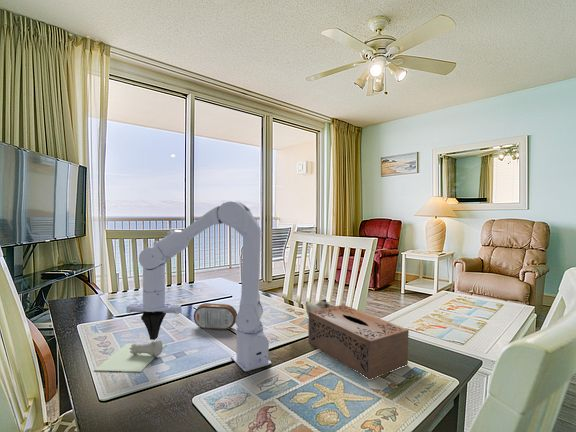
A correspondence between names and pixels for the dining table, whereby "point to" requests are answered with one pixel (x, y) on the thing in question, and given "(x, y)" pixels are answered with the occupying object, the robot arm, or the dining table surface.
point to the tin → (215, 316)
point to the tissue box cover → (359, 340)
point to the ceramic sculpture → (318, 306)
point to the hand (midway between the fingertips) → (154, 338)
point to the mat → (126, 361)
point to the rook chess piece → (147, 348)
